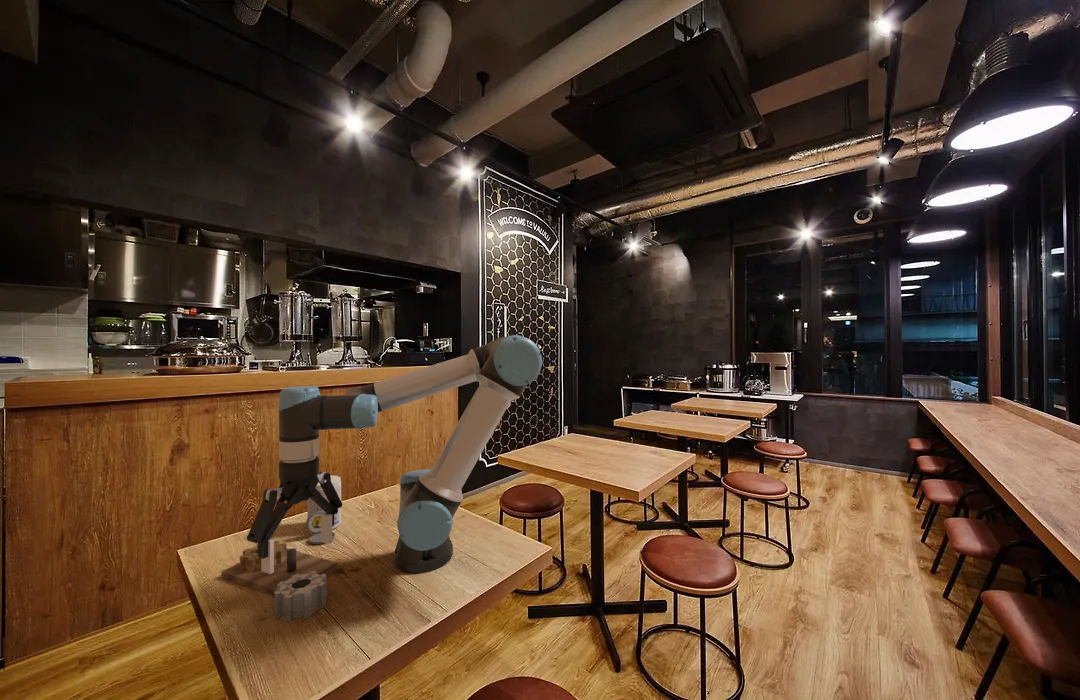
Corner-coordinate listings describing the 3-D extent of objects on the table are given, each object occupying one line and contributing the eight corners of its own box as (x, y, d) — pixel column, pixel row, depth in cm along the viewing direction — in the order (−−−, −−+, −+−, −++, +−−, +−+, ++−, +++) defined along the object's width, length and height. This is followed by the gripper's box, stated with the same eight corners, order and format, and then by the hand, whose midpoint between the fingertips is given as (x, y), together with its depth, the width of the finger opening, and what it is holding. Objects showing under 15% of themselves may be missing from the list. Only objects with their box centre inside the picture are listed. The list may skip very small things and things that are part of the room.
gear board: (338, 568, 105) (337, 543, 105) (284, 600, 92) (284, 571, 92) (277, 551, 114) (277, 527, 114) (221, 577, 101) (221, 551, 101)
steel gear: (336, 599, 92) (336, 577, 92) (295, 626, 84) (295, 601, 83) (306, 589, 96) (306, 567, 96) (264, 614, 87) (264, 590, 87)
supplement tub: (314, 521, 133) (313, 475, 133) (345, 519, 135) (345, 474, 135) (302, 534, 124) (301, 485, 124) (336, 532, 125) (335, 484, 125)
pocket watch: (324, 546, 117) (323, 511, 116) (298, 543, 118) (297, 508, 118) (343, 533, 125) (343, 500, 124) (319, 531, 126) (318, 498, 126)
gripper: (336, 444, 102) (335, 529, 102) (225, 472, 79) (225, 581, 80) (358, 447, 99) (358, 535, 99) (250, 477, 76) (250, 591, 77)
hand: (299, 556), depth 90 cm, fingers open, 13 cm apart
